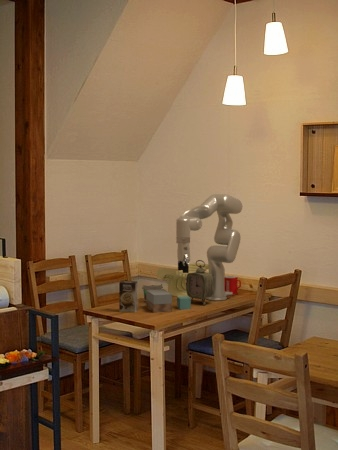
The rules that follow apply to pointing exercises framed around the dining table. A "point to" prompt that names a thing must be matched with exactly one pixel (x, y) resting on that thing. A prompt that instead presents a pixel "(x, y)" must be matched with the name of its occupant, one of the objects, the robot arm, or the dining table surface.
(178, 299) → the teal cube
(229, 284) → the mug
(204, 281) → the tabletop clock
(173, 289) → the slatted curved stool
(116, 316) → the dining table surface
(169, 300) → the white box
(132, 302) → the coffee box
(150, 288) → the food container
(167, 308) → the base block
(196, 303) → the dining table surface
